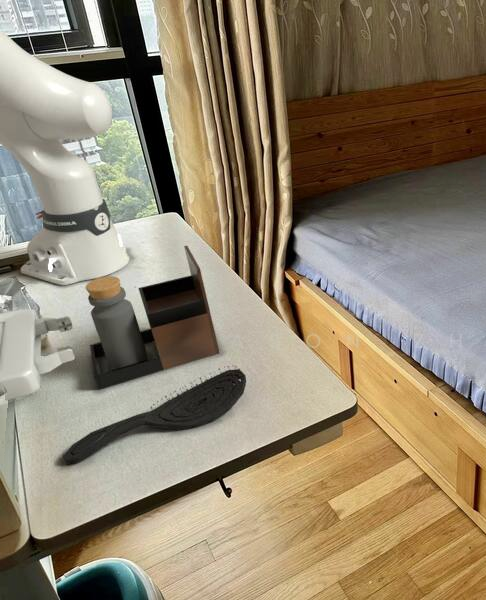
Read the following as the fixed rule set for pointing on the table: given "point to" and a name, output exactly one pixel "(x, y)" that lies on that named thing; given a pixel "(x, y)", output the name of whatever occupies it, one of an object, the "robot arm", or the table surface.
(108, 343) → the bottle
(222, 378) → the hairbrush
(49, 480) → the table surface
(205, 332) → the bottle rack
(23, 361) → the robot arm
